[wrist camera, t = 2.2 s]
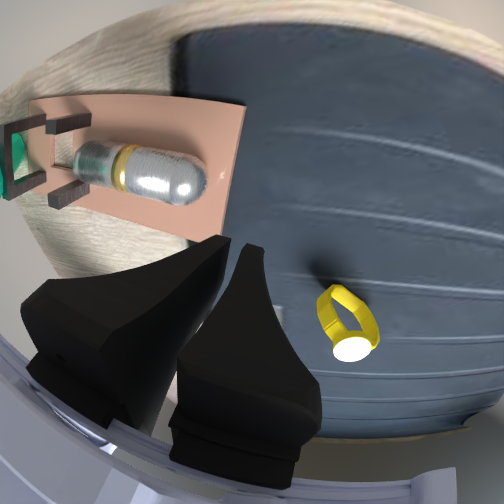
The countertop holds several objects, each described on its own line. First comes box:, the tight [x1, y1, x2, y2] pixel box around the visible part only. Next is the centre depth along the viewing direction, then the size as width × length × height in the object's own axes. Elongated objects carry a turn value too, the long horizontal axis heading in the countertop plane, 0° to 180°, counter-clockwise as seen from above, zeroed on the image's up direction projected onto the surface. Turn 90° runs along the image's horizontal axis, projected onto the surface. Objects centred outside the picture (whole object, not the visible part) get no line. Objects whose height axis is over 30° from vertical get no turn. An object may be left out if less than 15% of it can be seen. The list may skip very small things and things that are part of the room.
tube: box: [72, 140, 209, 206], centre depth 18 cm, size 12×4×4 cm, turn 78°
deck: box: [27, 94, 246, 242], centre depth 20 cm, size 25×11×1 cm, turn 78°
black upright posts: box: [0, 113, 92, 210], centre depth 18 cm, size 9×8×6 cm
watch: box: [317, 285, 380, 362], centre depth 20 cm, size 6×3×6 cm, turn 56°
